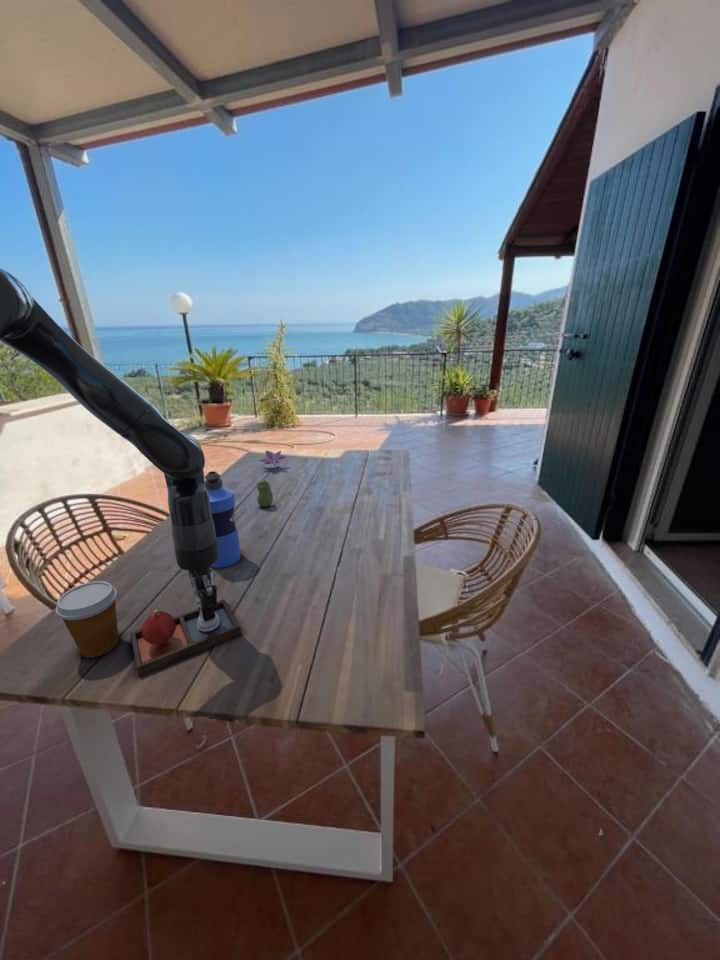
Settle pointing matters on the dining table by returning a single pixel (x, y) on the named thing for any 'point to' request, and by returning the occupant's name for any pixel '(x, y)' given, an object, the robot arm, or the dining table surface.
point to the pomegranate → (158, 628)
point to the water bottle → (223, 520)
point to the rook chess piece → (207, 625)
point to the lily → (272, 457)
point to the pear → (264, 493)
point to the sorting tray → (184, 639)
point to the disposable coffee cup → (90, 617)
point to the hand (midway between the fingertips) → (207, 613)
